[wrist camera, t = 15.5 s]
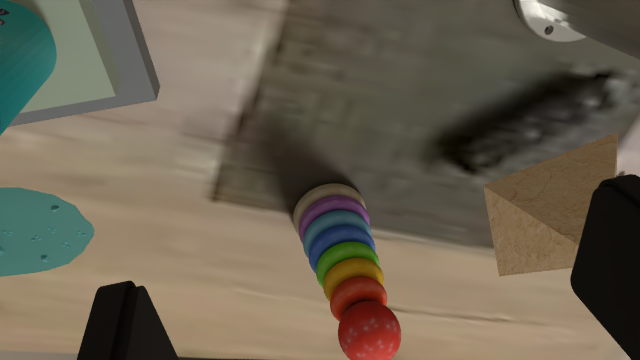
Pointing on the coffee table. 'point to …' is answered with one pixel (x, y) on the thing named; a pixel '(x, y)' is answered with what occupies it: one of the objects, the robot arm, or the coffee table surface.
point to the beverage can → (22, 58)
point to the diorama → (39, 231)
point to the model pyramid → (547, 208)
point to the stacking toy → (348, 269)
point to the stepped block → (91, 59)
